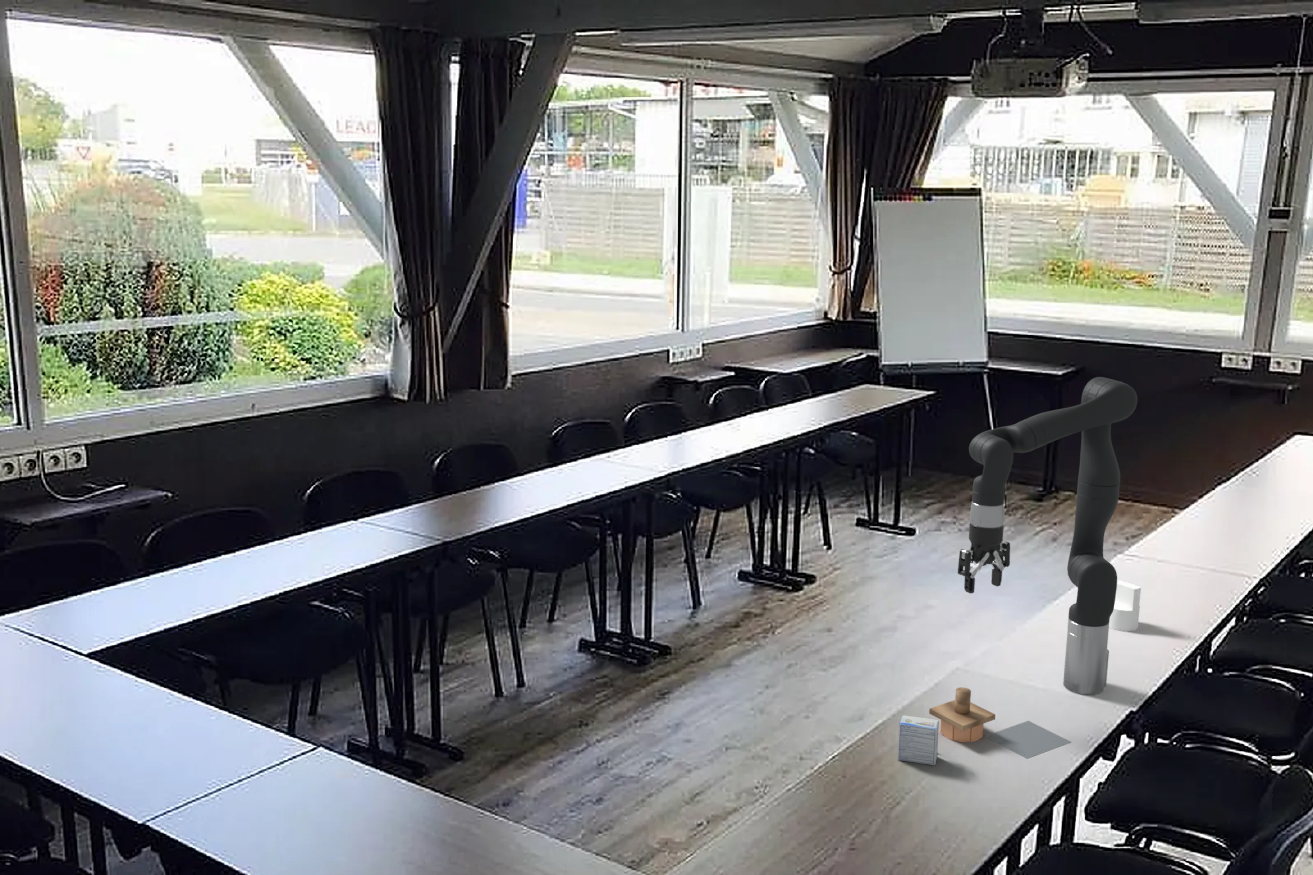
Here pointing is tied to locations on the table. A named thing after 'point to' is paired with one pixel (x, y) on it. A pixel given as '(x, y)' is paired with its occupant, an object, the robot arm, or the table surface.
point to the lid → (962, 711)
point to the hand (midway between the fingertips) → (982, 588)
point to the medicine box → (918, 740)
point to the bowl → (961, 733)
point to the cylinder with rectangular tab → (1125, 607)
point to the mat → (1028, 739)
